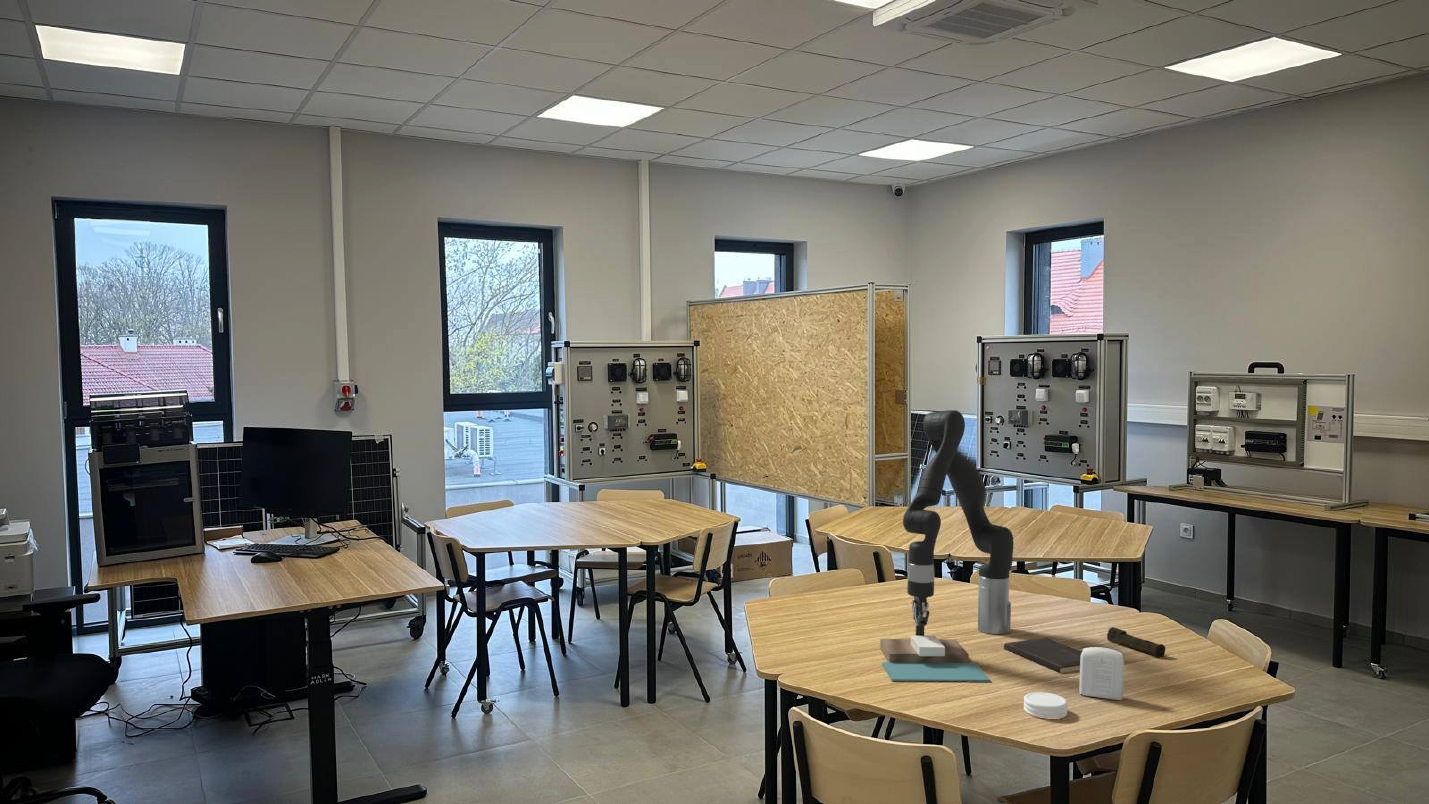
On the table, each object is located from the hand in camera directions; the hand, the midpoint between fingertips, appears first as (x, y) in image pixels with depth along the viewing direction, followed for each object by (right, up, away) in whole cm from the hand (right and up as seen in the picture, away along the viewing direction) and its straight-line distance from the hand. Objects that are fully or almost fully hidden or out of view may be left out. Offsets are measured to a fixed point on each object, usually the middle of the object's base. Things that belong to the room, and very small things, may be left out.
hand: (919, 637), depth 270 cm
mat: (0, -5, -17) cm, 18 cm away
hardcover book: (+37, -6, -3) cm, 38 cm away
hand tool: (+64, -5, +6) cm, 64 cm away
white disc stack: (+20, -7, -45) cm, 50 cm away
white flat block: (+1, -2, -7) cm, 7 cm away
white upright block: (+38, -6, -34) cm, 52 cm away
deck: (0, -5, -3) cm, 6 cm away
